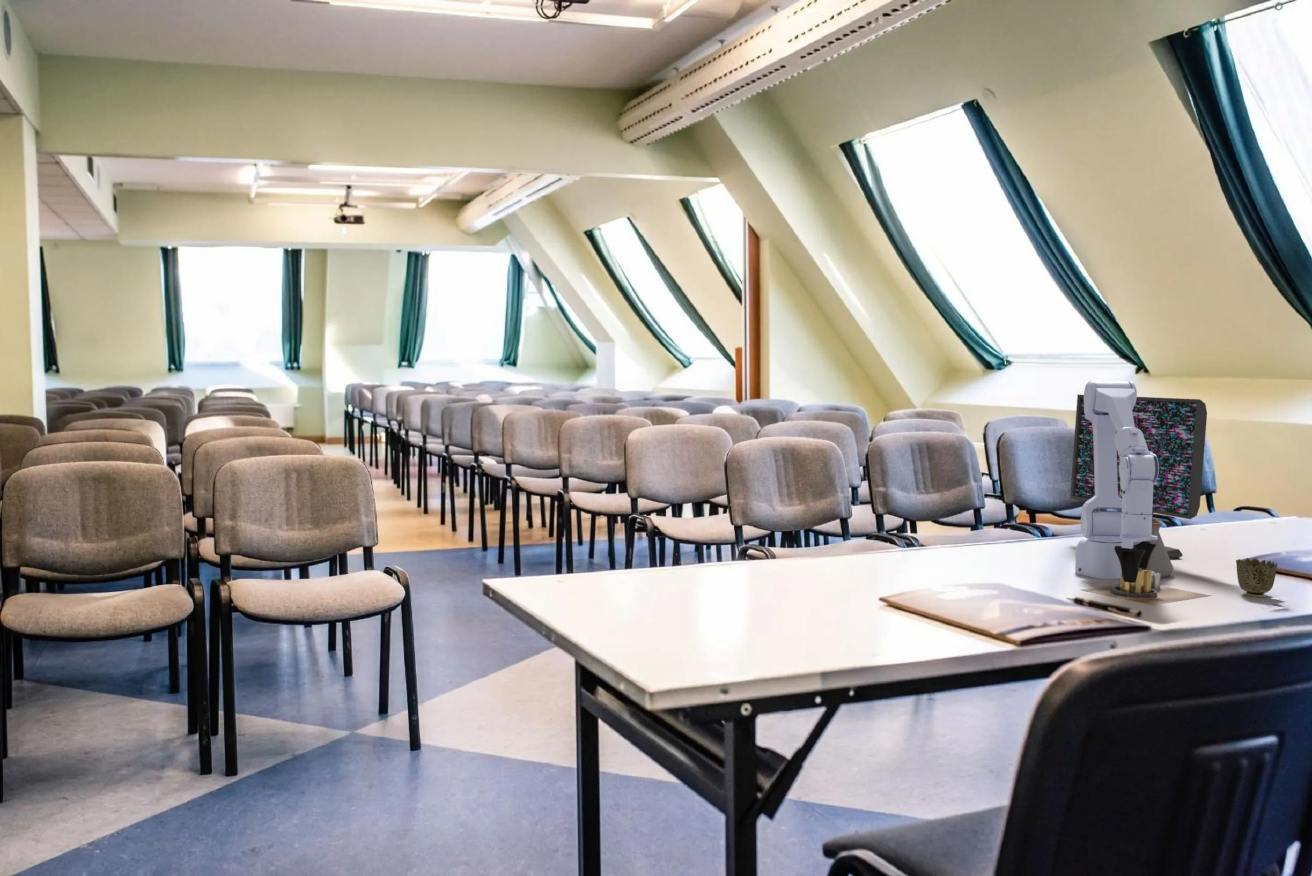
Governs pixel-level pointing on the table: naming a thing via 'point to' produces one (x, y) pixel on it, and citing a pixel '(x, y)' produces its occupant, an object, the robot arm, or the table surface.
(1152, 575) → the sun gear
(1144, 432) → the computer monitor
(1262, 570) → the cup
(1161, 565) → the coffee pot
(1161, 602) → the carrier plate
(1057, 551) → the table surface
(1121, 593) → the ring
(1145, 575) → the planet gear
